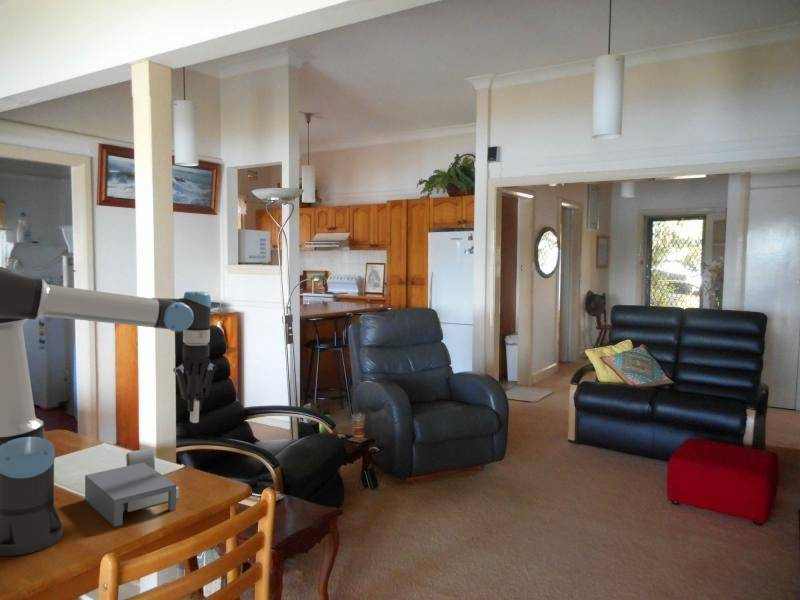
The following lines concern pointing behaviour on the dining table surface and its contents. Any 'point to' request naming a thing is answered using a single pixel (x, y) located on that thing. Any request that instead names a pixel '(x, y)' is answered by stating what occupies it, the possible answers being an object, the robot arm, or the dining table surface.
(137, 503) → the ribbed white block
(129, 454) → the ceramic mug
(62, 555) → the dining table surface
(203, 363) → the robot arm
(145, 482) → the low shelf
